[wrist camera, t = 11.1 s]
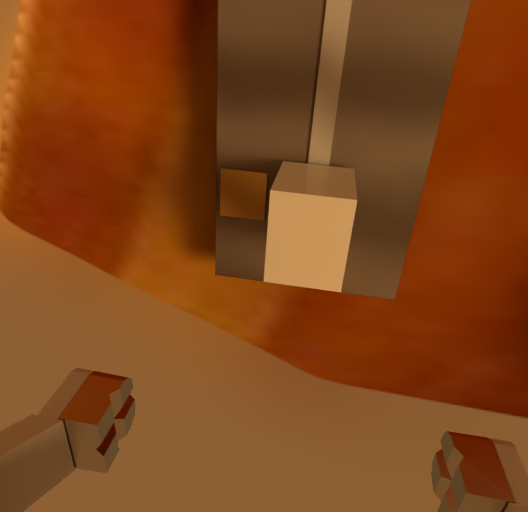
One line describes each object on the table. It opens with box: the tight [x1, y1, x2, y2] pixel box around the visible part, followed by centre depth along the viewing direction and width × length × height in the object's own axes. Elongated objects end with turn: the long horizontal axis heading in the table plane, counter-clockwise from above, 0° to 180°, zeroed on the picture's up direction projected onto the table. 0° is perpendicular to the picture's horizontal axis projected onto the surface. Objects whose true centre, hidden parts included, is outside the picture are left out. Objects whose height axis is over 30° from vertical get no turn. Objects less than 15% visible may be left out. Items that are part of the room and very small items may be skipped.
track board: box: [215, 0, 471, 300], centre depth 23 cm, size 26×12×3 cm, turn 176°
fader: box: [264, 161, 357, 292], centre depth 23 cm, size 5×4×5 cm
